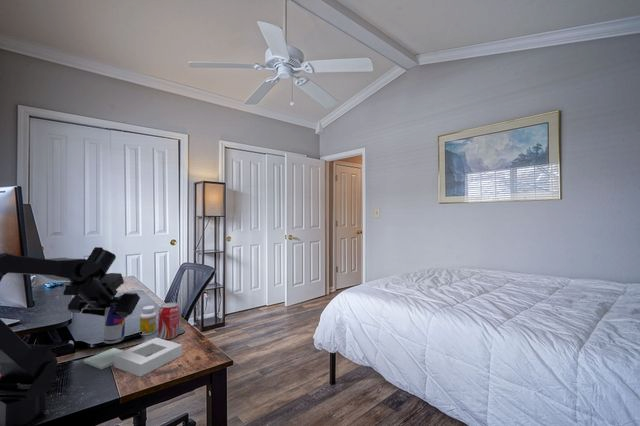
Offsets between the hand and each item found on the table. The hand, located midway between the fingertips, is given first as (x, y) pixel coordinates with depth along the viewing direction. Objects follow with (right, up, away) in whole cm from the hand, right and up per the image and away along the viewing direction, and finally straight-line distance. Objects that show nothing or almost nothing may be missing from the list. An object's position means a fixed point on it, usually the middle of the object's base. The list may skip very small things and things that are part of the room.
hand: (118, 315), depth 94 cm
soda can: (+8, -14, +16) cm, 22 cm away
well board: (+11, -14, -2) cm, 17 cm away
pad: (-2, -13, -1) cm, 13 cm away
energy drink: (0, -7, -1) cm, 8 cm away
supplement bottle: (-2, -13, +19) cm, 23 cm away
